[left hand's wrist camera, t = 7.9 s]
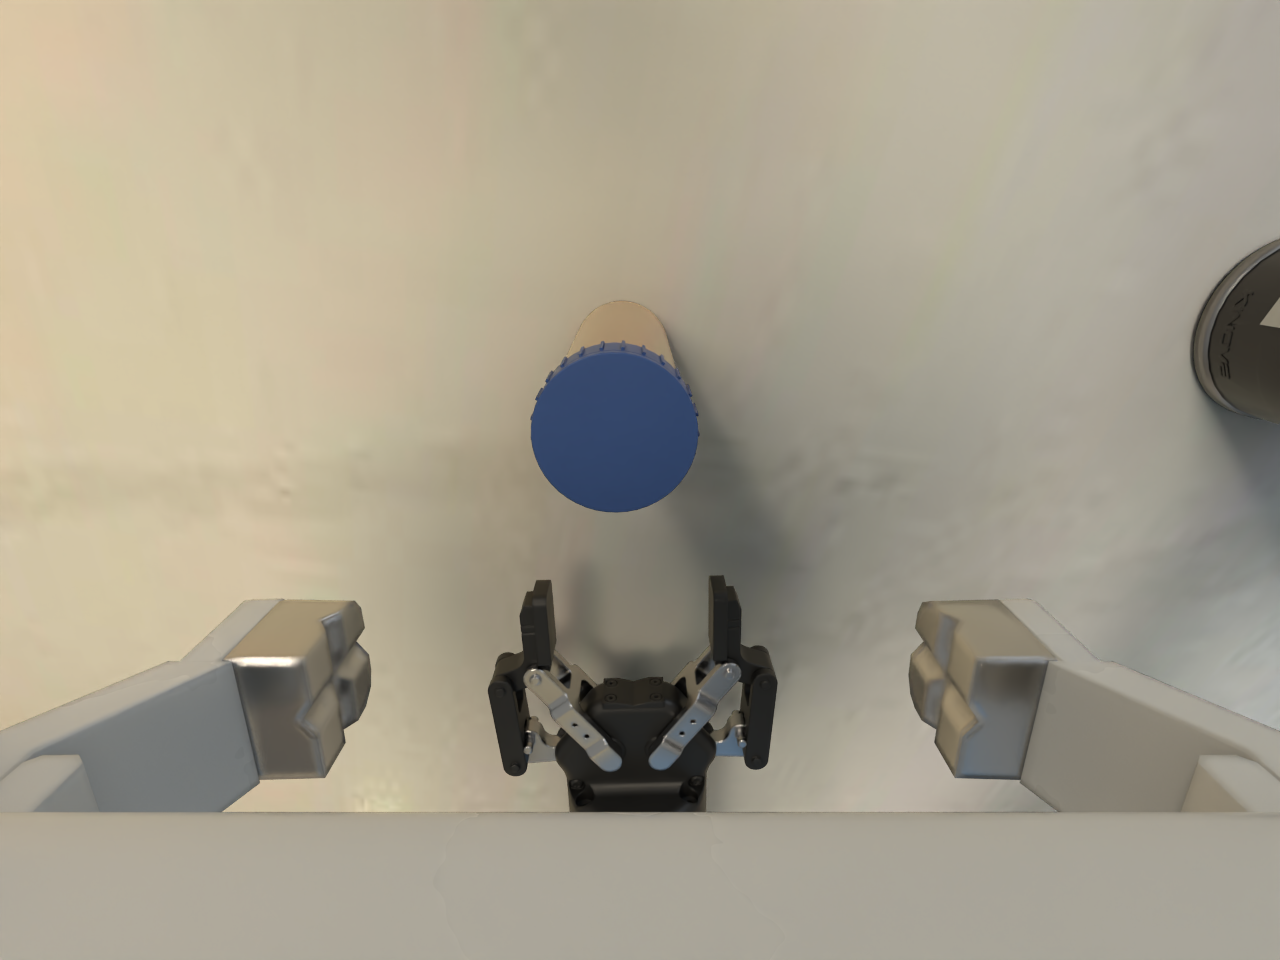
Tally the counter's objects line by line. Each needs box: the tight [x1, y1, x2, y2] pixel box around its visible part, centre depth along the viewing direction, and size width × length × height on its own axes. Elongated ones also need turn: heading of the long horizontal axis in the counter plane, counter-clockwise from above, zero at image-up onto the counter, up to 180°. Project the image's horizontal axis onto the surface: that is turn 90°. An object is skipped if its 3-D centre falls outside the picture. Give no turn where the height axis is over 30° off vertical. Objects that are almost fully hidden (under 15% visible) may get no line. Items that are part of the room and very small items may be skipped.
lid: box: [531, 340, 699, 512], centre depth 22 cm, size 5×5×2 cm
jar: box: [566, 301, 676, 369], centre depth 29 cm, size 5×5×15 cm
